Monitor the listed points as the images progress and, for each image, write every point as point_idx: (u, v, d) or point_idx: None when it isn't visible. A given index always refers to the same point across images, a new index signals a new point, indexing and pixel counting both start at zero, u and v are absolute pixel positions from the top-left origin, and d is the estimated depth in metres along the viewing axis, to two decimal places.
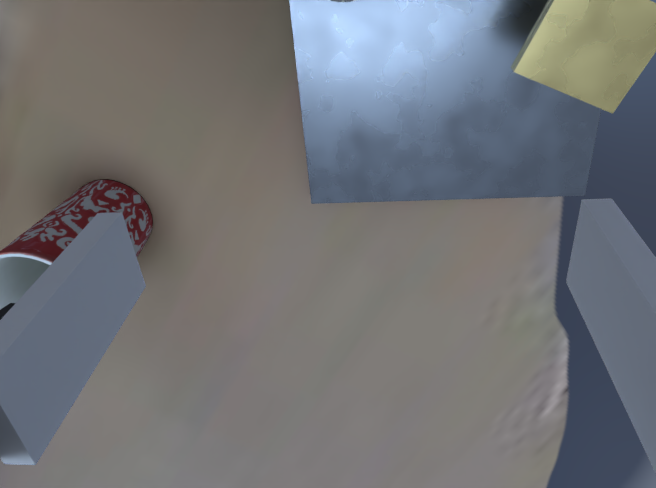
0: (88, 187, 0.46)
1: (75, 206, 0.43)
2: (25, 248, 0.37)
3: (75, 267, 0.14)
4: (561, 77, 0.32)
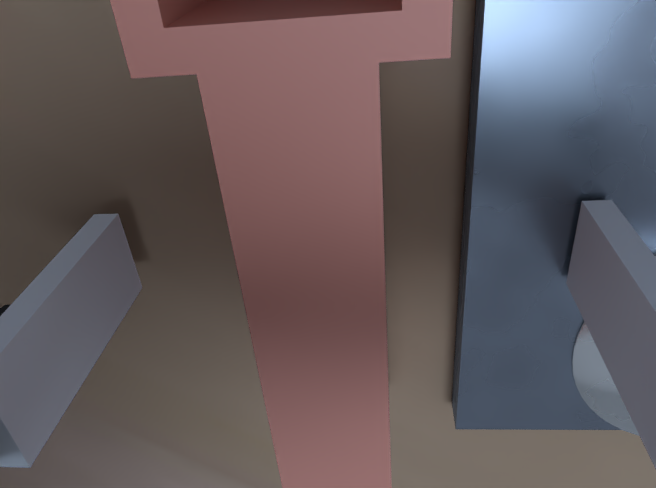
0: None
1: None
2: None
3: (70, 269, 0.14)
4: None
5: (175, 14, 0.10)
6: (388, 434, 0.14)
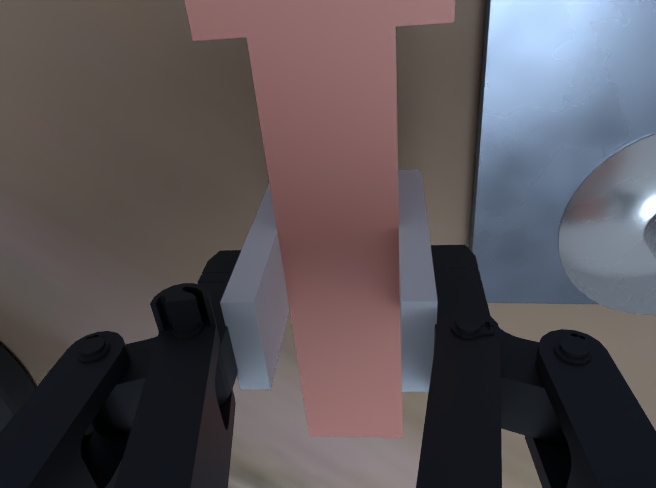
0: None
1: None
2: None
3: None
4: None
5: None
6: (400, 362, 0.16)
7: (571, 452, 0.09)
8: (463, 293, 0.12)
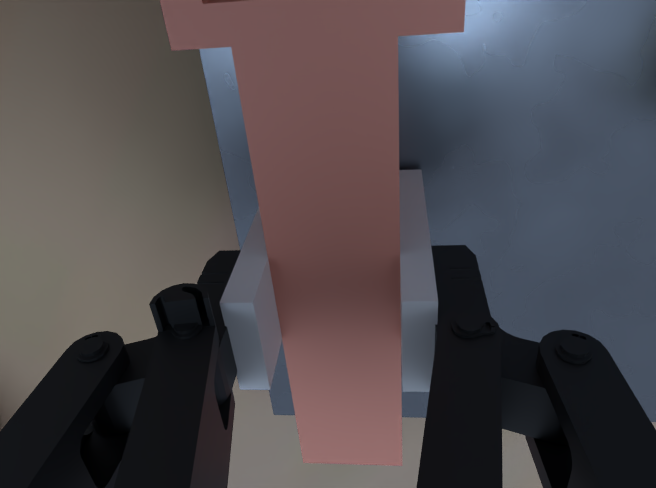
0: None
1: None
2: None
3: None
4: None
5: None
6: (400, 390, 0.15)
7: (572, 452, 0.09)
8: (463, 293, 0.12)
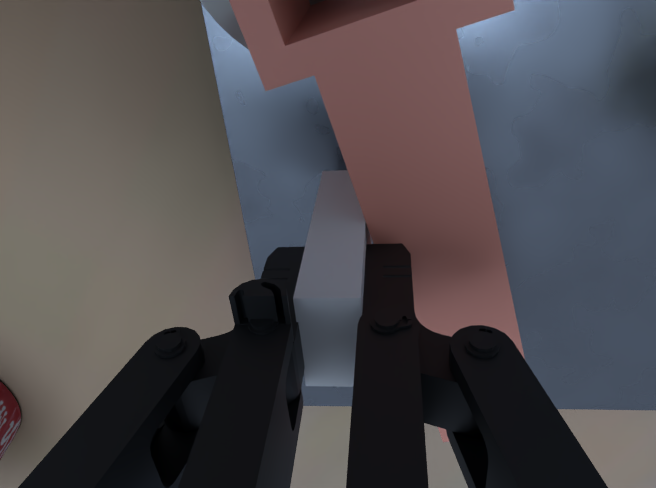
0: None
1: None
2: None
3: (338, 214, 0.15)
4: None
5: (288, 34, 0.12)
6: (522, 353, 0.16)
7: (487, 445, 0.09)
8: (392, 290, 0.13)
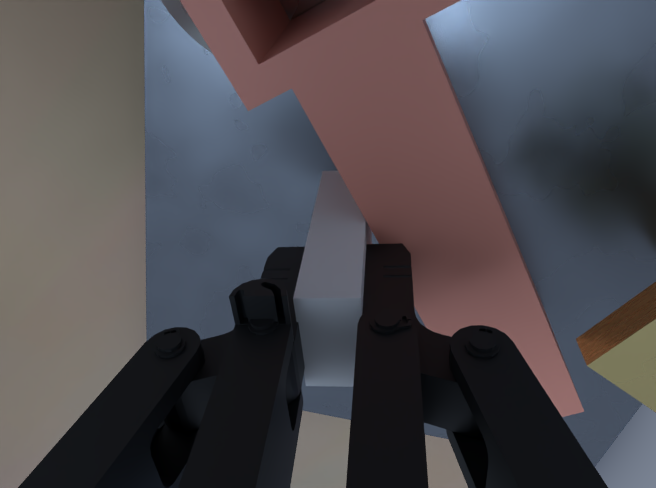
0: None
1: None
2: None
3: (338, 214, 0.15)
4: None
5: (262, 53, 0.13)
6: (551, 336, 0.16)
7: (487, 446, 0.09)
8: (392, 290, 0.13)
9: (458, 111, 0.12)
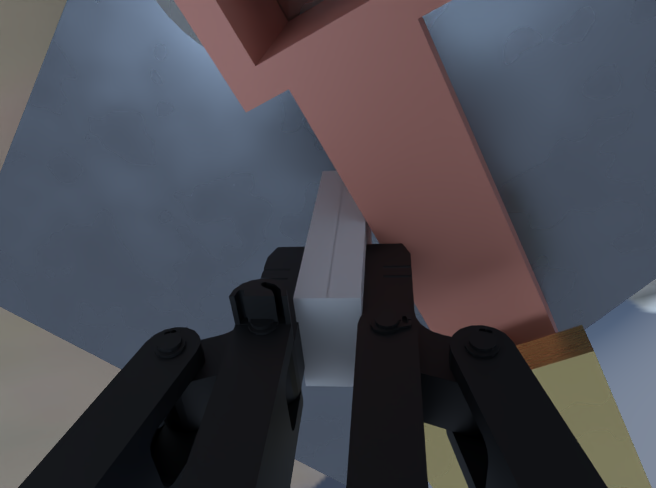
0: None
1: None
2: None
3: (338, 214, 0.15)
4: (441, 463, 0.17)
5: (259, 54, 0.13)
6: None
7: (487, 445, 0.09)
8: (392, 290, 0.13)
9: (455, 109, 0.12)
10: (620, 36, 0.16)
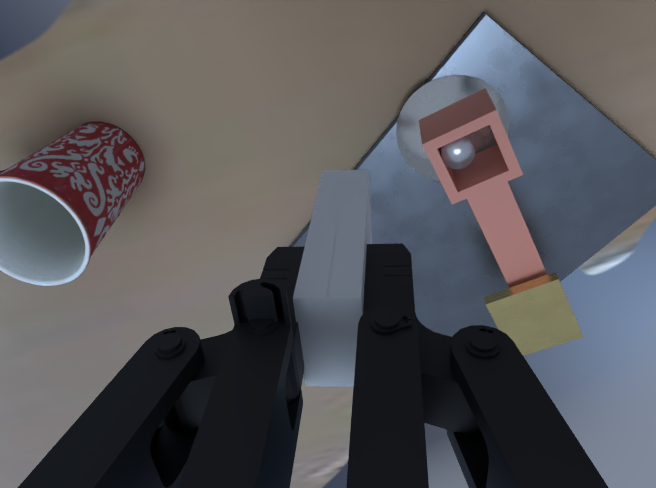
0: (109, 133, 0.46)
1: (99, 155, 0.43)
2: (58, 190, 0.37)
3: (338, 214, 0.15)
4: (505, 324, 0.46)
5: (456, 187, 0.42)
6: None
7: (487, 446, 0.09)
8: (393, 290, 0.13)
9: (516, 204, 0.42)
10: (569, 171, 0.45)
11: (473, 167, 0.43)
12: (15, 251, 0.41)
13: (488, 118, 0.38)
